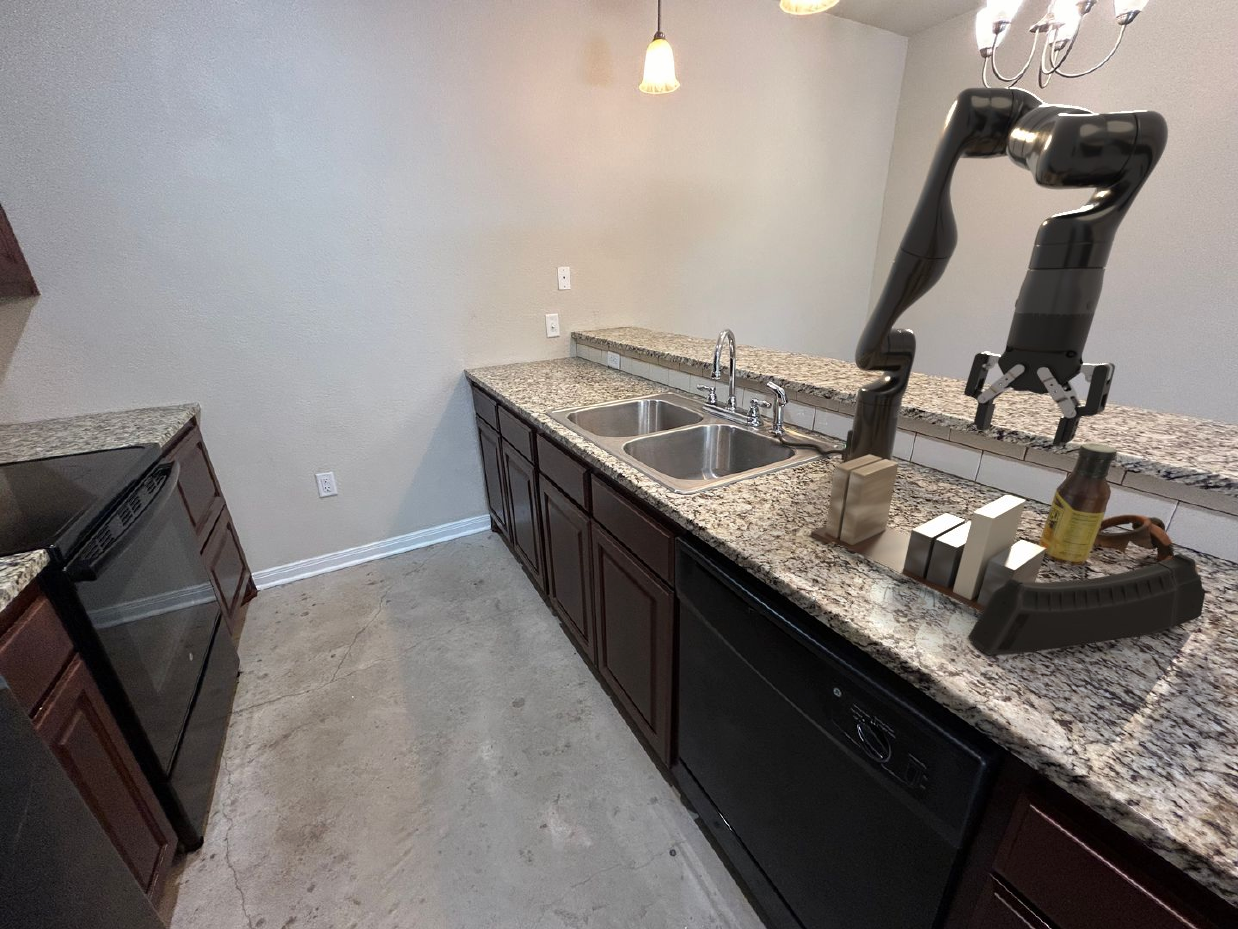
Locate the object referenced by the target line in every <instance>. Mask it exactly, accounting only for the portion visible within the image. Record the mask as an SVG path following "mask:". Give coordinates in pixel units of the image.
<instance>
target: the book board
mask: <svg viewBox="0 0 1238 929" xmlns="http://www.w3.org/2000/svg"><path fill="white" fill-rule="evenodd" d="M898 469H899V462H896V461H894V460H891V461H890V460H887V459H885V460H882V458H880V457H876V456H873V455H867V456H864V457H860V458H857V459H854V460H851V461H848V462H845V463H843V462H842V463H839V464H837V465H834V470H833V475H832V476H833V477H832V483H831V485H832V486H831V491H830V498H829V504H828V512H827V518H826V525H824V526H821V527H819V528H817V529H814V530H812V531H811V532H810V537H811V538H814V539H816V540H817V541H820V542H821V543H824V544H827V545H829V544H832V543H835V544H837V545H839V546H841V547H843V548H845V549H847V550H850V551H851V552H854V553H855V554H858V555H860V556H862V557H863V558H866V559H868V560H870V561H872V562H875V563H877V564H879V565H881V566H883V567H885V568H888V569H890V570H892V571H894V572H896V573H898V574H900V575H902V576H905V577H907V578H908V579H911V580H913V581H915V582H917V583H919V584H921V585H924V586H926V587H928V588H930V589H932V590H933V591H937V592H938V593H941V594H943V595H944V596H947V597H949V598H951V599H953V600H955V601H958V602H960V603H961V604H963V605H966V606H968V607H971V608H973V609H975V610H977V611H979V612H981V613H982V612H983V610H984V608H985V607H986V605H987V603H988V601H989V600H990V598H991V596H992V594H993V593H994V592H995V591H996V590H997V589H999V588H1001V587H1003V586H1004V585H1005V584H1006V582H1007V580H1008V579H1016V580H1019V581H1024V582H1037V578H1038V576H1039V572H1040V569H1041V566H1042V563H1043V560H1044V557H1045V556H1044V554H1045V551H1046V548H1044V547H1041V546H1039V544H1035V543H1033V542H1030V541H1026V540H1023V539H1021V540H1019V541H1017V542H1016V543H1013V545H1012V546H1011V547H1009V548H1008V549H1006V550H1005V551H1003V552H1001V553H1000V554H998V555H997V556H995V557H994V558H992V559H990V560H989V563H988V566H987V570H986V573H985V577H984V580H983V584H982V587H981V591H980V594H978V595H977V596H976V597H974V598H973V599H971V600H969V599H967V598H965V597H963V596H961V595H959V594H956V593H954V592H953V589H954V585H955V581H956V577H957V574H958V570H959V566H960V562H961V558H962V554H963V551H964V547H965V543H966V539H967V535H968V531H969V528H970V524H971V521H967V522H966V520H965V519H964V518H960V517H957V516H954V515H953V514H949V513H943V514H941V515H939V516H936V517H935V518H933V519H931V520H929V521H926V522H925V523H923V524H921V525H918V526H916V527H915V528H913V529H911V531H910V535H909V534H908V533H904V532H902V531H899V530H897V529H894V528H892V527H889V526H888V520H889V516H890V510H891V504H892V499H893V495H894V490H895V484H896V479H897V474H898Z"/></svg>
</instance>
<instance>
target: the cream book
mask: <svg viewBox="0 0 1238 929" xmlns="http://www.w3.org/2000/svg"><path fill="white" fill-rule="evenodd" d="M1026 503H1027V502H1026V499H1023V498H1019V497H1016V496H1013V495H1010V494H1005V495H1003V496H1002V497H999V498H998V499H996V500H994V501H992V502H990V503H988V504H986V505H984V506H982V507H980V508H978V509H976V510H974V511H973V513H972V516H971V520H970V522H971V524H970V528H969V531H968V535H967V539H966V543H965V547H964V551H963V554H962V558H961V562H960V566H959V570H958V574H957V577H956V581H955V585H954V589H953V592H954V593H956V594H959V595H961V596H963V597H965V598H967V599H969V600H971V599H973V598H974V597H976V596H977V595H978V594H980V591H981V587H982V584H983V580H984V577H985V573H986V570H987V566H988V563H989V560H990V559H992V558H994V557H995V556H997V555H998V554H1000V553H1001V552H1003V551H1005V550H1006V549H1008V548H1009V547H1011V546H1012V545H1014V542H1015V538H1016V535H1017V533H1018V529H1019V525H1020V521H1021V518H1022V515H1023V513H1024V508H1025V505H1026Z"/></svg>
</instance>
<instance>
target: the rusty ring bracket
mask: <svg viewBox="0 0 1238 929" xmlns="http://www.w3.org/2000/svg"><path fill="white" fill-rule="evenodd" d="M1130 524H1131V525H1132V526H1131V528H1132V529H1131V530H1128V531H1122V532H1110V533H1109V532H1103V531H1104V530H1107V529H1109V528H1112V527H1118V526H1122V525H1130ZM1129 542H1131V543H1132V544H1133V545H1135V546H1137V547H1139V548H1143V549H1146V550H1149V551H1151V550H1156V553H1157V554H1156V559H1157V560H1159V561H1166V560H1169V559H1171V558H1172V557H1173V555H1175V552H1174V551H1175V550H1174V546H1173V541H1172V539H1171V538H1170V536H1169V535H1168V534H1167V532H1166V525H1165V523H1164V522H1163V520H1162V519H1160V518H1159V517H1155V516H1153V517H1151V516H1150V517H1149V516H1146V515H1145V516H1144V515H1139V514H1121V515H1115V516H1111V517H1106V518H1103V520H1102V522H1101V525H1100V528H1099V530H1098V533H1097V536H1096V538H1095V541H1094V544H1093V546H1092V547H1095V548H1096V547H1097V548H1103V549H1113V550H1118V551H1119V552H1120V553H1122V554H1126V550H1127V547H1128V544H1129Z"/></svg>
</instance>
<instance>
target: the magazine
mask: <svg viewBox="0 0 1238 929" xmlns="http://www.w3.org/2000/svg"><path fill="white" fill-rule="evenodd" d="M1205 596H1206V590H1205V588H1204V587H1203V582H1202V576H1201V575H1200V574H1199V569H1198V565H1197V563H1196V561H1195V559H1194V558H1192V557H1189V556H1187V555H1184V554H1182V553H1176V554H1174V555H1173V557H1172V558H1171V559H1169V560H1166V561H1163V560H1161V561H1157V562H1155V563H1154V564H1151V565H1146V566H1145V567H1144V566H1143V567H1141V568H1135V569H1133V570H1129V571H1125V572H1121V573H1114V574H1110V575H1106V576H1105V575H1104V576H1100V577H1093V578H1092V577H1091V578H1084V579H1083V578H1082V579H1071V580H1059V581H1050V582H1048V581H1045V582H1039V581H1038V582H1037V581H1036V582H1024V581H1019V580H1016V579H1008V580H1007V582H1006V584H1005V585H1004V586H1003V587H1001V588H999V589H997V590H996V591H995V592H994V593H993V594H992V596H991V598H990V600H989V601H988V603H987V605H986V607H985V608H984V610H983V612H981V613H980V615H979V617H978V619H977V620H976V622H975V623H974V626H973V627H972V629H971V631H970V632H969V634H968V639H967V640H969V641H970V642H971V644H972V645H973V646H974V647H975V648H977V649H978V650H979V651H980V652H981V653H985V654H986V655H987V656H994V655H1009V654H1010V655H1014V654H1027V653H1033V652H1041V651H1047V650H1055V649H1061V648H1068V647H1069V648H1070V647H1076V646H1082V645H1089V644H1097V643H1104V642H1110V641H1117V640H1124V639H1130V638H1138V637H1144V636H1149V635H1151V634H1155V633H1158V632H1162V631H1164V630H1168V629H1171V628H1175V627H1177V626H1181V625H1183V624H1185V623H1188V622H1191V621H1194V620H1197V619H1198V618H1200V617H1201V616H1202V611H1203V608H1204V602H1205Z"/></svg>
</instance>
